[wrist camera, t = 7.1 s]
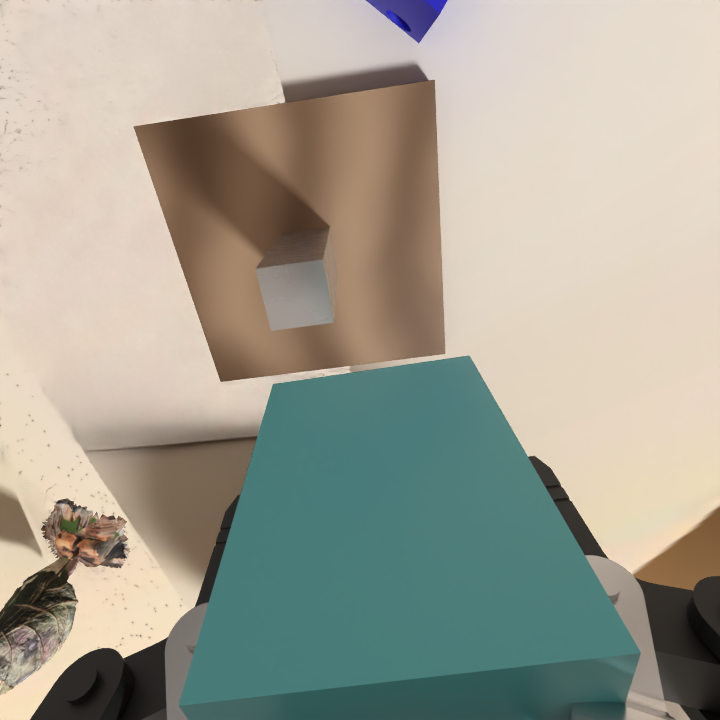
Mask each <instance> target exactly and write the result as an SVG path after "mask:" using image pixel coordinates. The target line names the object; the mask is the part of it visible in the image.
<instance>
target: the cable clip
mask: <svg viewBox="0 0 720 720" xmlns="http://www.w3.org/2000/svg"><path fill="white" fill-rule="evenodd" d="M366 1H367V2H369V3H370V4H371V5H372V6H374V7H375V8H376V9H377V10H379V11H380V12H381V13H382V14H384V15H385V16H386V17H387V18H388V19H390V20H391V21H392V22H393V23H395V24H396V25H397V26H398V27H400V28H401V29H402V30H403V31H405V32H406V33H407V34H408V35H409V36H411V37H412V38H413V39H414V40H416V41H417V42H418V43H419V42H420V41H421V40H422V38H423V37H424V35H425V34H426V33H427V31H428V30H429V28H430V27H431V26H432V24H433V23H434V21H435V20H436V19H437V17H438V16H439V14H440V13H441V11H442V9H443V7H444V6H445V4H446V2H447V0H366Z"/></svg>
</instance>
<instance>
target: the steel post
mask: <svg viewBox="0 0 720 720" xmlns="http://www.w3.org/2000/svg"><path fill="white" fill-rule="evenodd" d="M255 270H256V274H257V278H258V281H259V285H260V289H261V293H262V297H263V301H264V305H265V309H266V313H267V317H268V320H269V324H270V328H271V331H273V330H281V329H289V328H297V327H304V326H312V325H320V324H327V323H334V316H335V306H336V295H337V284H338V271H337V265H336V258H335V252H334V246H333V240H332V233H331V227H327V228H319V229H312V230H305V231H298V232H291V233H284V234H280V236H279V237H278V239H277V240H276V241H275V243H274V244H273V245H272V247H271V248H270V249H269V251H268V252H267V254H266V255H265V256H264V258H263V259H262V260H261V262H260V263H259V264H258V266H257V267H256V268H255Z"/></svg>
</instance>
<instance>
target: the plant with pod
mask: <svg viewBox="0 0 720 720" xmlns="http://www.w3.org/2000/svg"><path fill="white" fill-rule="evenodd" d="M86 509H87V507H81V506H80V505H79V506H78V507H77V506H76V504H75V505H74V501H70V500H69V499H68V498H67V499H62V500H58V502H56V505H54V511H53V512H51V515H50V516H49V517H48V519H46V521H48V522H42V523H44V524H45V525H46V526H45V525H43V527H42V529H41V530H42V531H45V532H43V534H45V535H44V536H43V537H44V538H45V539H48V540H50V541H49V544H50V546H49V547H48V548H50V547H52V548H51V550H52V551H51V552H54V553H53V554H55V555H57V557H59V559H58V560H57V561H55V562H54V563H52V564H51V565H49V566H47V567H45V568H44V569H42V570H40V571H39V572H37V573H36V574H34V575H32V576H30V577H28V578H27V579H26V580H25V581H24V582H23V585H22V586H21V587H19V588H17V589H16V591H15V593H14V594H13V596H12V597H11V598H10V599H9V600H8V602H7V603H6V604H5V607H4V608H3V609H2V610H1V612H0V695H2V694H5V693H6V692H7V691H9V690H11V689H13V688H14V686H15V685H17V684H18V683H20V682H22V681H23V680H25V679H26V678H27V677H28V676H29V675H31V674H33V673H34V672H35V671H37V670H39V669H40V668H41V667H42V666H43V665H44V664H45V663H46V662H48V661H49V660H50V659H51V658H52V657H53V656H54V655H55V653H56V652H58V651H59V650H60V649H61V647H62V645H63V643H64V641H65V640H66V638H67V636H68V634H69V632H70V631H71V629H72V625H73V620H74V615H75V611H76V608H75V606H76V603H78V600H77V599H76V596H75V590H74V588H73V587H72V585H71V584H69V583H68V582H67V580H68V578H69V576H70V575H71V574H72V573H73V571H74V570H75V569H76V566H77V563H78V561H80V562H82V563H84V565H85V566H87V567H96V566H99V565H102V566H107V567H108V566H110V567H111V568H112V567H115V568H118V567H119V568H121V566H123V563H124V562H123V561H125V558H127V557H129V556H128V554H129V552H130V551H129V549H130V548H129V547H128V546H127V544H125V543H124V542H125V541H126V540H127V539H128V538H127V537H126V536H125V535H124V534H123V533H124V532H125V531H124V530H123V529H122V528H125V524H126V522H127V521H125V520H124V519H123V518H121V517H119V516H118V518H117V520H116V519H115V517H114V516H109V517H106V516H105V515H103V514H102V516H101V518H100V519H99V517H98V514H97V512H96V514H95V515H94V516H93V511H86ZM55 555H54V556H55ZM57 557H56V558H57Z"/></svg>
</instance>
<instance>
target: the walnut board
mask: <svg viewBox="0 0 720 720" xmlns="http://www.w3.org/2000/svg"><path fill="white" fill-rule="evenodd" d="M134 129H135V132H136V135H137V138H138V141H139V144H140V147H141V150H142V152H143V155H144V158H145V161H146V164H147V167H148V170H149V173H150V176H151V179H152V182H153V185H154V188H155V191H156V193H157V196H158V199H159V202H160V205H161V208H162V211H163V214H164V217H165V220H166V223H167V226H168V229H169V232H170V234H171V237H172V240H173V243H174V246H175V249H176V252H177V255H178V258H179V261H180V264H181V267H182V270H183V273H184V275H185V278H186V281H187V284H188V287H189V290H190V293H191V296H192V299H193V302H194V305H195V308H196V311H197V314H198V317H199V319H200V322H201V325H202V328H203V331H204V334H205V337H206V340H207V343H208V346H209V349H210V352H211V355H212V358H213V360H214V363H215V366H216V369H217V372H218V375H219V378H220V381H221V382H223V381H232V380H240V379H248V378H256V377H264V376H272V375H280V374H288V373H296V372H304V371H312V370H320V369H328V368H336V367H344V366H352V365H360V364H368V363H376V362H384V361H392V360H400V359H408V358H416V357H424V356H432V355H440V354H445V334H444V308H443V283H442V257H441V231H440V205H439V180H438V154H437V128H436V102H435V80H430V81H424V82H417V83H411V84H404V85H398V86H391V87H385V88H379V89H372V90H366V91H359V92H353V93H346V94H340V95H334V96H327V97H321V98H314V99H308V100H301V101H295V102H288V103H282V104H276V105H269V106H263V107H256V108H250V109H243V110H237V111H231V112H224V113H218V114H211V115H205V116H198V117H192V118H185V119H179V120H173V121H166V122H160V123H153V124H147V125H140V126H134ZM327 227H331V233H332V240H333V246H334V252H335V258H336V265H337V271H338V284H337V295H336V306H335V316H334V323H327V324H320V325H312V326H304V327H297V328H289V329H281V330H273V331H271V328H270V324H269V320H268V317H267V313H266V309H265V305H264V301H263V297H262V293H261V289H260V285H259V281H258V278H257V274H256V270H255V268H256V267H257V266H258V264H259V263H260V262H261V260H262V259H263V258H264V256H265V255H266V254H267V252H268V251H269V249H270V248H271V247H272V245H273V244H274V243H275V241H276V240H277V239H278V237H279V236H280V234H284V233H291V232H298V231H305V230H312V229H319V228H327Z"/></svg>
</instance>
